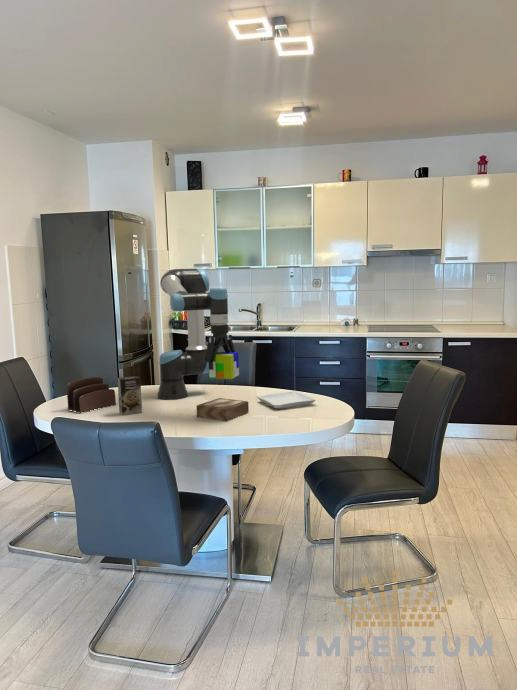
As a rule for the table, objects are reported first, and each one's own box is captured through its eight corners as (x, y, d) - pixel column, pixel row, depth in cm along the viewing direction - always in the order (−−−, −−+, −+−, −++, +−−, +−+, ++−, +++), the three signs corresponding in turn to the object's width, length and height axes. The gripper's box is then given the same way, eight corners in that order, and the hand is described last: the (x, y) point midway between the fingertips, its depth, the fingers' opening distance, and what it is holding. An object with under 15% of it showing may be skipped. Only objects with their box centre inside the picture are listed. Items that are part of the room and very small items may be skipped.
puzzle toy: (239, 374, 222) (238, 352, 221) (231, 379, 212) (230, 355, 211) (217, 374, 225) (216, 352, 224) (209, 378, 215) (208, 355, 214)
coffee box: (122, 415, 225) (120, 379, 223) (119, 412, 230) (116, 377, 228) (142, 412, 229) (140, 377, 227) (139, 409, 234) (137, 375, 233)
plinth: (196, 416, 219) (196, 405, 218) (219, 408, 232) (219, 397, 231) (226, 421, 210) (226, 409, 209) (248, 412, 223) (248, 401, 222)
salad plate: (275, 412, 224) (274, 404, 224) (256, 402, 244) (255, 395, 243) (317, 406, 233) (316, 399, 232) (295, 397, 252) (295, 390, 252)
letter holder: (67, 411, 236) (65, 381, 235) (103, 402, 252) (101, 374, 251) (80, 414, 230) (78, 383, 229) (116, 405, 246) (114, 376, 245)
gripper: (208, 326, 204) (211, 380, 207) (242, 322, 224) (244, 371, 227) (194, 326, 209) (196, 378, 211) (229, 322, 228) (230, 370, 231)
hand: (221, 374), depth 219 cm, fingers closed on puzzle toy, 11 cm apart
